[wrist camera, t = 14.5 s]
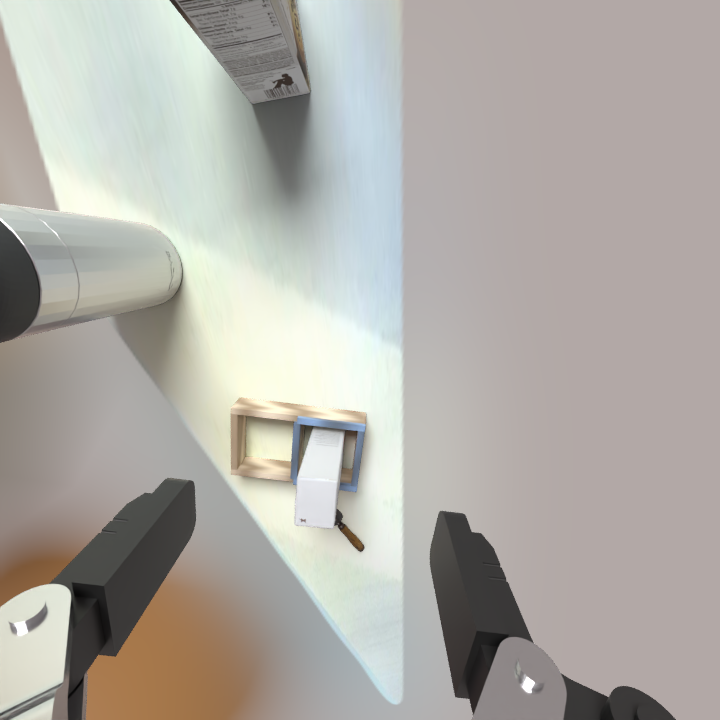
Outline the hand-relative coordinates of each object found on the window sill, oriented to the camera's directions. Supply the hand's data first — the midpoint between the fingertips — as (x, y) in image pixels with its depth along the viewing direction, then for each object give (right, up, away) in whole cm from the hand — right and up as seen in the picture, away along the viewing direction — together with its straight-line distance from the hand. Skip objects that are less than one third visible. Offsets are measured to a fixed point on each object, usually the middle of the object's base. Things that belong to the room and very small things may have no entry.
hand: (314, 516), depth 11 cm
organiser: (-6, -5, +33) cm, 35 cm away
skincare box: (-3, -6, +34) cm, 34 cm away
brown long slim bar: (-1, -19, +38) cm, 43 cm away
